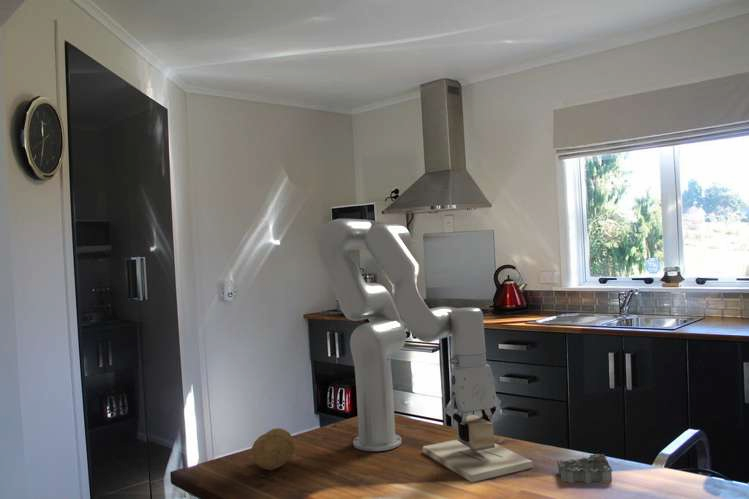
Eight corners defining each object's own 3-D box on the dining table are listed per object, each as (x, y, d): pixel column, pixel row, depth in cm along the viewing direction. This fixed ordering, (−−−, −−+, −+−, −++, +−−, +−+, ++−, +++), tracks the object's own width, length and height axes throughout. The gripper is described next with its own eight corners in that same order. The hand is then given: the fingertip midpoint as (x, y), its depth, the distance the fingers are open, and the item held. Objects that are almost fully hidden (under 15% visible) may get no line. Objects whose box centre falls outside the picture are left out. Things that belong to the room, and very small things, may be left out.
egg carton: (607, 472, 128) (606, 453, 128) (614, 485, 120) (613, 465, 120) (556, 470, 130) (555, 452, 130) (560, 484, 122) (559, 464, 122)
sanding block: (457, 440, 142) (455, 417, 142) (476, 437, 143) (474, 414, 143) (475, 451, 133) (473, 426, 133) (494, 447, 135) (493, 423, 135)
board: (422, 452, 145) (422, 446, 145) (477, 441, 152) (477, 435, 152) (471, 482, 125) (471, 475, 125) (532, 467, 131) (532, 460, 131)
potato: (242, 478, 135) (240, 443, 135) (264, 457, 148) (262, 425, 148) (283, 478, 133) (281, 443, 133) (301, 457, 147) (300, 425, 147)
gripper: (446, 367, 132) (452, 449, 131) (509, 357, 138) (515, 435, 138) (430, 363, 139) (435, 440, 138) (491, 354, 145) (496, 427, 145)
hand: (475, 437), depth 138 cm, fingers closed on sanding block, 5 cm apart
